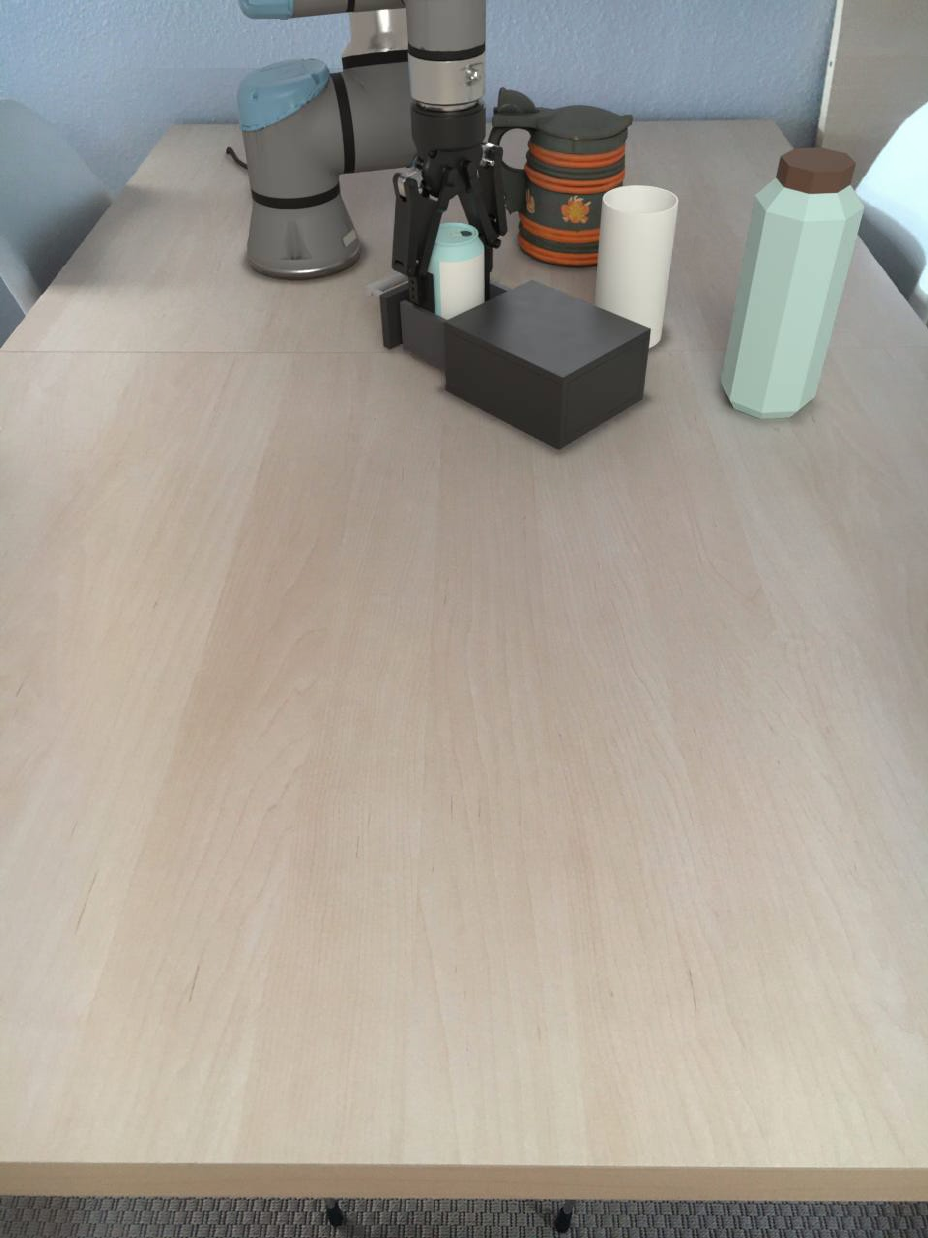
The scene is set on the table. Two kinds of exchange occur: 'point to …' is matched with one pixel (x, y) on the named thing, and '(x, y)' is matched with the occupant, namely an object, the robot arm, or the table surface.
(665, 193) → the cup
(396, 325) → the drawer
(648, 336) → the cabinet
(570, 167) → the beer stein
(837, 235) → the water bottle
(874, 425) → the table surface
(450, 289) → the can
